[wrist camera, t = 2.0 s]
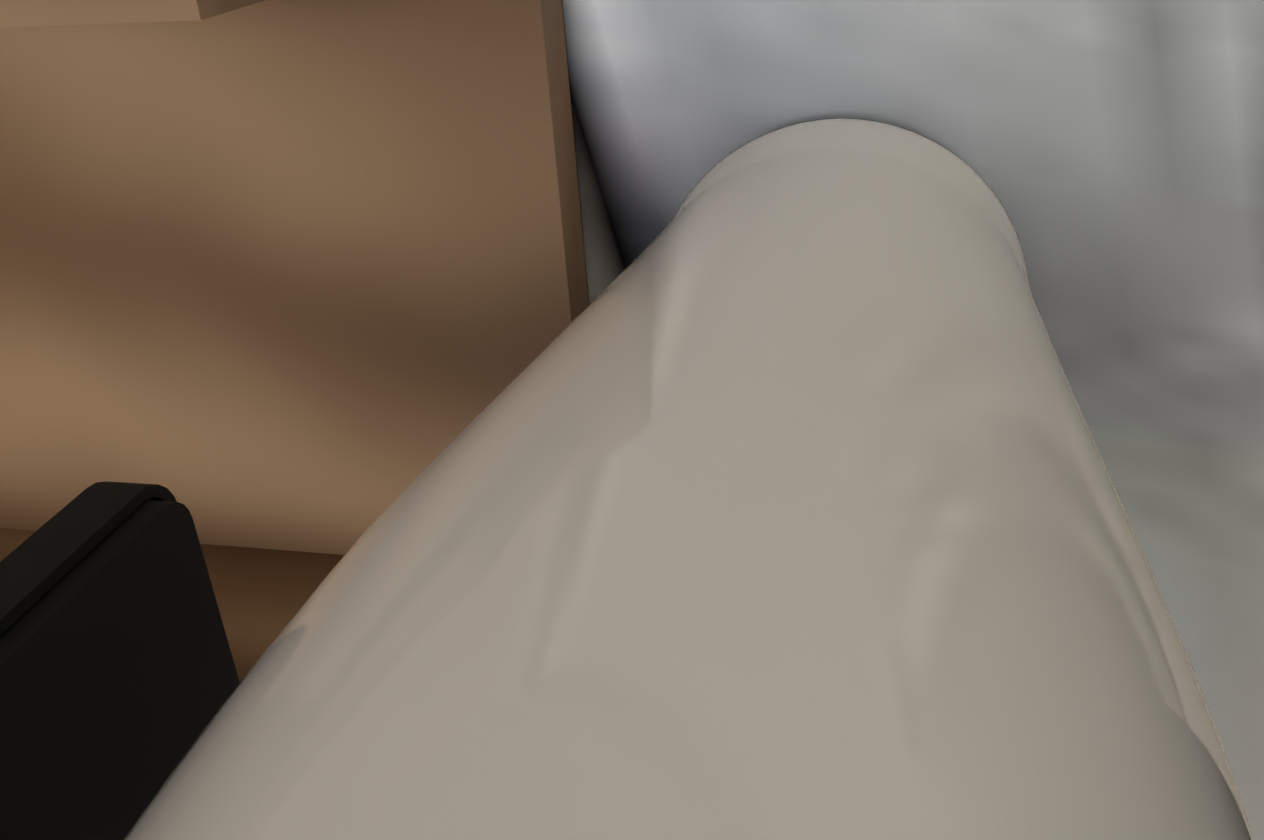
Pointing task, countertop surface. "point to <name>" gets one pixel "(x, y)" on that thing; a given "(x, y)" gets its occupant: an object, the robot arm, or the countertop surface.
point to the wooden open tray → (272, 260)
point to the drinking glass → (747, 565)
